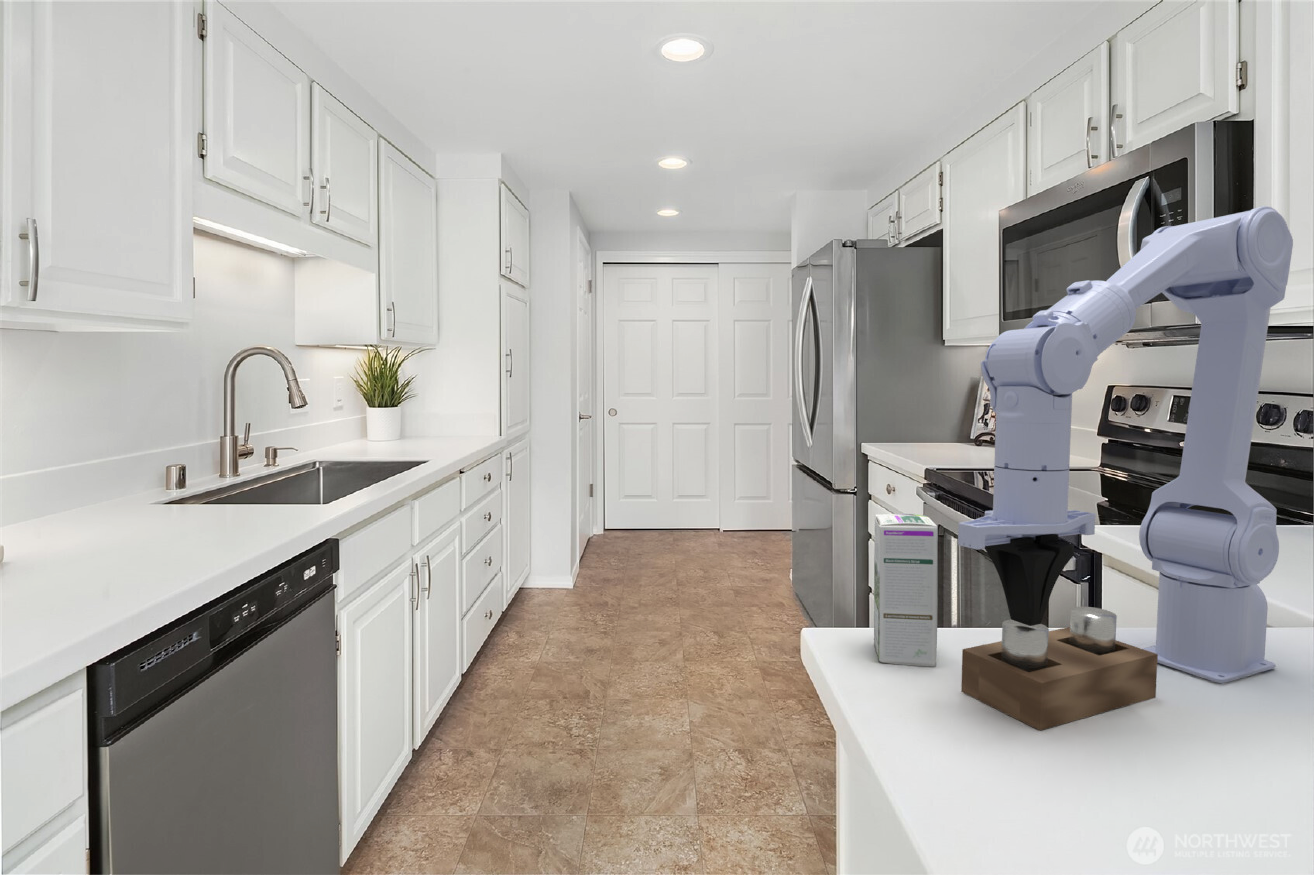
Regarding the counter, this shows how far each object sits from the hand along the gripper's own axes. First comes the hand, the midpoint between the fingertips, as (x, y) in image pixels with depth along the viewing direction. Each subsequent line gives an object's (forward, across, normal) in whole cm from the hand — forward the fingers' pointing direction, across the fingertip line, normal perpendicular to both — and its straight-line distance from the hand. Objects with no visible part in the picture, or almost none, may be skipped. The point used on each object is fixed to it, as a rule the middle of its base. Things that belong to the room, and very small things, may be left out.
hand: (1025, 621), depth 61 cm
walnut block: (+7, -4, 0) cm, 9 cm away
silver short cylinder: (+4, -9, 0) cm, 10 cm away
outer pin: (+4, 0, 0) cm, 4 cm away
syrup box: (+8, +2, -13) cm, 15 cm away
